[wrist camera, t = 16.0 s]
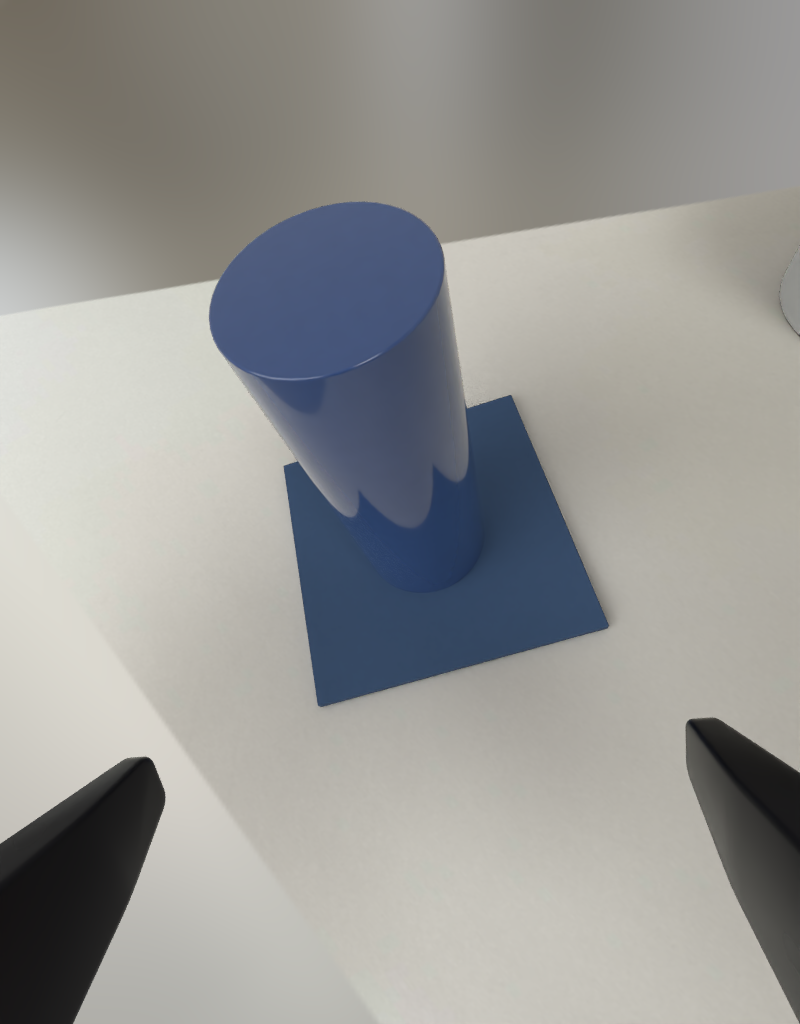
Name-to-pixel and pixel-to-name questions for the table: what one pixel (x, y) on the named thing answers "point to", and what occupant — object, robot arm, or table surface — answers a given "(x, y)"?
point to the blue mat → (460, 607)
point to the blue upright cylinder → (362, 380)
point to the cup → (791, 292)
